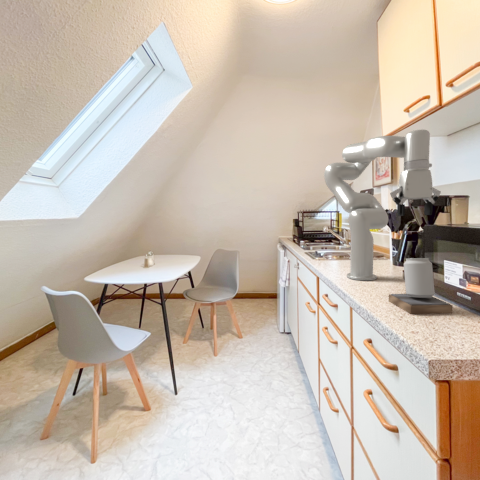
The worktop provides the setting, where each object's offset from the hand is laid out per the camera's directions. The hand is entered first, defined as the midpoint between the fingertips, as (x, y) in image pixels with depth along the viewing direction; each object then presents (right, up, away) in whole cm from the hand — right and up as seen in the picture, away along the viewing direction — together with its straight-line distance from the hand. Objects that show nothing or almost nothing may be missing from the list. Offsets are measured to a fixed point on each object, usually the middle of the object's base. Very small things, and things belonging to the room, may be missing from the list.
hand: (414, 215), depth 99 cm
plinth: (-7, -30, -13) cm, 34 cm away
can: (-7, -27, -14) cm, 31 cm away
